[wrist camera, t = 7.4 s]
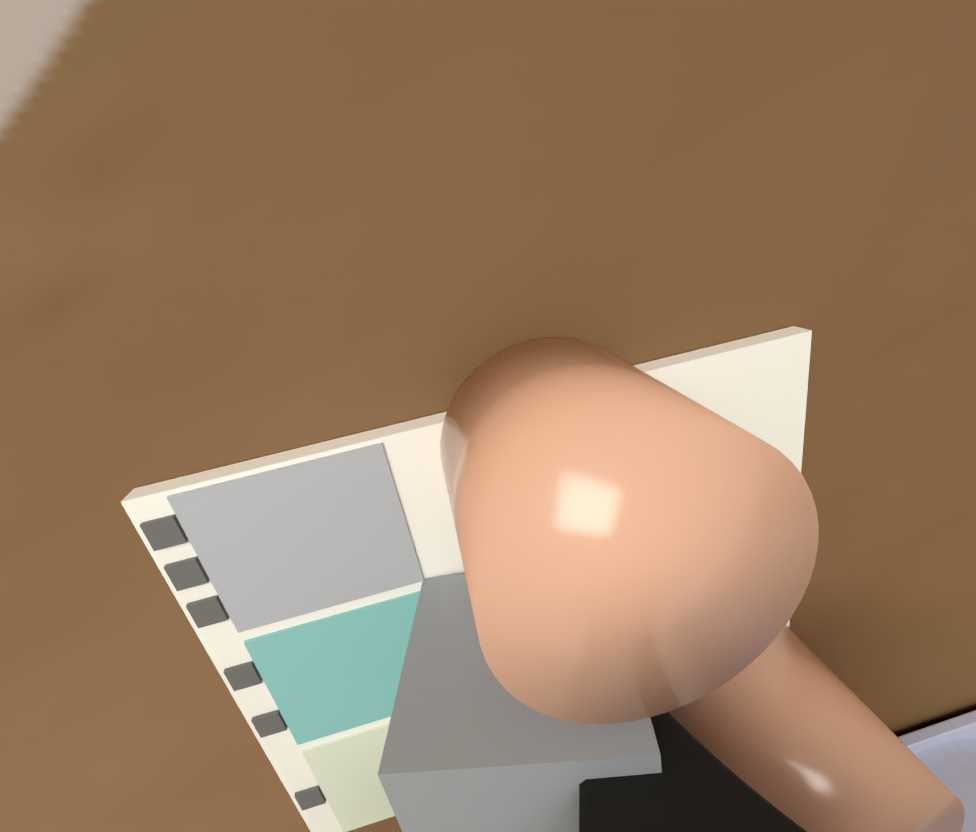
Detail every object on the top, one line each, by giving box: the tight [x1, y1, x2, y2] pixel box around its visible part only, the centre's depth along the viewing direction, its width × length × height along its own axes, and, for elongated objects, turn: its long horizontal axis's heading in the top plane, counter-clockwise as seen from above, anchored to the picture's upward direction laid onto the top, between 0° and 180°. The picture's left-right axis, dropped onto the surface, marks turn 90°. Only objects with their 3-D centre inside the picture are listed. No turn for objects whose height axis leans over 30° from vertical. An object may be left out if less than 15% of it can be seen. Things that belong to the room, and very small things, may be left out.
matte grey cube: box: [378, 574, 662, 832], centre depth 9 cm, size 4×4×4 cm
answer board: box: [121, 326, 812, 832], centre depth 12 cm, size 11×14×1 cm
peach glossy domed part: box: [440, 337, 819, 724], centre depth 8 cm, size 4×4×4 cm
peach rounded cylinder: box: [669, 625, 965, 832], centre depth 12 cm, size 4×4×4 cm
